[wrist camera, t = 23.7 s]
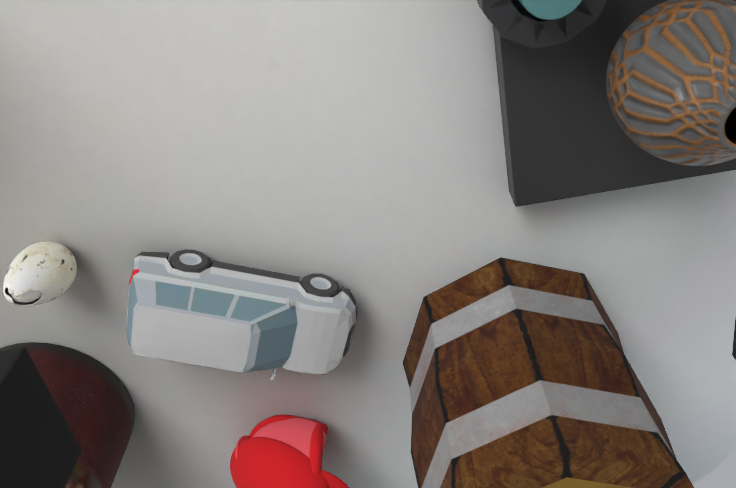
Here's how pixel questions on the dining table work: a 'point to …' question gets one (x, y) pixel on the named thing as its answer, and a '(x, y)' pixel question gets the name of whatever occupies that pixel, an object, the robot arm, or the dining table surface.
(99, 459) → the vase
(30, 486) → the robot arm
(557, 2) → the teal cylinder
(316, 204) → the dining table surface
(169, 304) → the toy car
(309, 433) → the cap
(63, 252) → the egg
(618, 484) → the mug
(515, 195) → the dark grey button base
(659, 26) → the vase
